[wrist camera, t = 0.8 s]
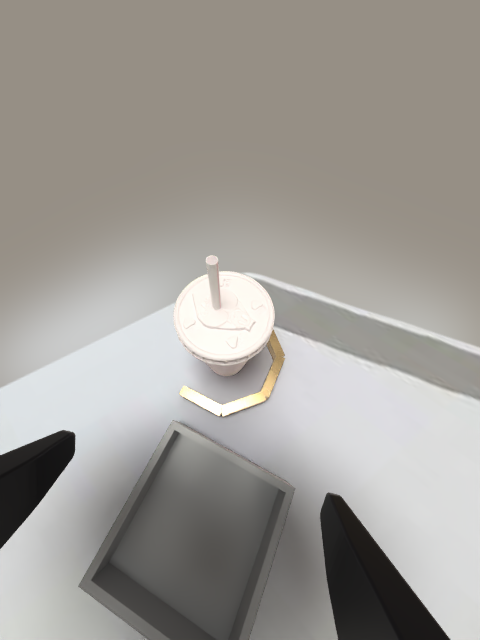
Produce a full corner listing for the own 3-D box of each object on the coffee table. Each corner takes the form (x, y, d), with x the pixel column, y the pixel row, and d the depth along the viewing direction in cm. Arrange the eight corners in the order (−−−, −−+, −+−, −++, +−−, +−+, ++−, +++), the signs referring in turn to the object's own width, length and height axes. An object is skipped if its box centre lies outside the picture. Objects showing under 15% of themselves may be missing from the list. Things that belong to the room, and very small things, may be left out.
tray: (229, 655, 15) (229, 701, 12) (101, 563, 16) (78, 586, 14) (286, 481, 19) (295, 488, 16) (179, 422, 20) (172, 420, 18)
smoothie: (216, 318, 25) (203, 199, 12) (269, 347, 24) (314, 248, 11) (181, 368, 22) (117, 284, 10) (238, 404, 21) (249, 359, 9)
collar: (252, 434, 20) (253, 434, 19) (182, 396, 21) (178, 394, 20) (292, 336, 24) (296, 330, 23) (232, 309, 26) (232, 302, 24)
